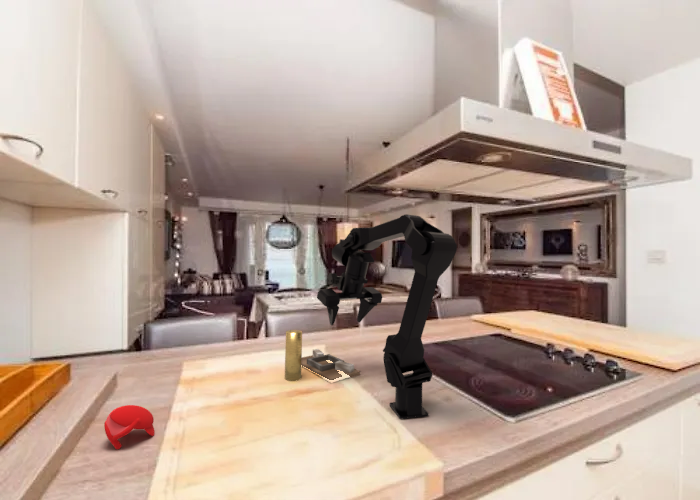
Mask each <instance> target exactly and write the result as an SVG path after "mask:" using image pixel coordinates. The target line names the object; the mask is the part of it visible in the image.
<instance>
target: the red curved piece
mask: <svg viewBox="0 0 700 500" xmlns="http://www.w3.org/2000/svg"><path fill="white" fill-rule="evenodd" d="M154 419H155V418H154V415H153V414H152V412H150V410H148V409H147V408H145V407H143V406H141V405H135V404H129V405H128V404H127V405H122V406H119V407H116V408H114V409H113V410H111V411H110V413H109V414H108V415H107V417H106V420H105V421H104V432H105V435H106V438H107V439H108V441H109V442H110V444H111V445H112V446H113V447H114V448H115V450H120V449H121V447H122V445H123V444H121V442H120V441H119V439H121V438H124V437H125V436H126V435H128V434H130V433H131V432H132V431H133V430H144V431H145V432H146V433H147V434H148V435H149V436H151V437H153V436H155V431H156V430H155V427H154Z"/></svg>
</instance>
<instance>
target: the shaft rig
mask: <svg viewBox="0 0 700 500" xmlns="http://www.w3.org/2000/svg"><path fill="white" fill-rule="evenodd" d="M326 360H330V361H332V362H333V363H328V362H327V361H326ZM301 365H302V366H304V367H306V368H308V369H310V370H311V371H313V372H315V373H317V374H319V375H321V376H323V377H325V378H327V379H329V380H334V379H336V378H339V377H342V375H341V374H339V373H338V372H339V371H337V370H340V371H343V372H344V373H345V374H347V375H349V376H350V377H351V378H354V377H357V376H360V375H361V371H360V370H358V369H355V364H354V363H350V362H346V361H345V360H343V359H341V358H339V357H336V356H335V355H331V354H330V353H329V354H324V352H323V351H322V350H321V349H319V348H317V349H316V348H315V349H312V355H308V356H303V357H302V362H301Z"/></svg>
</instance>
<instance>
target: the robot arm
mask: <svg viewBox="0 0 700 500" xmlns="http://www.w3.org/2000/svg"><path fill="white" fill-rule="evenodd" d="M402 237H404V241H405V243H406V244H407V246H409V248H411V262H412V266H413V269H414V270H413V271H414V274H413V277H412V281H411V285H410V287H409V293H408V296H407V298H406V299H407V300H406V303H405V307H404V310H403V314H402V318H401V322H400V325H399V328H398V329H399V330H398V331H397V333H396V334H388V335H387V336H386V339H385V345H384V348H382V349H383V350H382V352H383V353H384V354H383V367H384V371H385V376H386V381H387V383H388V384H390V387H392V388H395V392H394V393H395V399H394V401H393V402H392V401H391V402H389V406H390V407H391V409H392V410H393V411H394V413H395V414H396V415H397V416H398V418H399V419H400V420H405V419H412V418H424V417H429V414H430V413H429V412H428V411H427V410H426V409H425V408H424V407H423V384H424V383H430V382H431V380H432V377H433V372H432V370H431V368H430V367H429V364H428V362H427V361H426V359H425V358H424V355H425V347H424V344H423V340H422V337H423V333H424V330H425V326H426V323H427V320H428V316H429V312H430V309H431V305H432V302H433V299H434V295H435V292H436V290H437V289H436V288H437V284H438V282H439V280H440V277H441V276H442V274H444V272H445V271H446V270H448V268H449V267H450V266H451V264H452V262H453V260H454V258H455V255H456V253H457V250H458V245H457V243H456V240H455V239H454V237H453V236H452V235H450V234H449V233H445V232H443V230H441V229H439V228H438V227H436V226H434V225H433V224H431V223H429V222H428V221H427V220H426V219H424V218H423V217H422V216H419V215H417V214H416V215H415V214H403V215H401V216H400V217H397V218H394V219H391V220H389V221H386V222H383V223H379V224H377V225H375V226H371V227H370V226H369V227H353V228H352V229H351V230H350V231H349V234H347V236H346V237H345V239H341V238H340V239H339V242H338V243H337V244H335V245H334V247H333V248H332V250H331V257H332V258H333V259H334V260H335V261H336V262H338V263H339V264H341V265H342V266H344V267H346V269H345V272H342V273H341V275H338V274H337V273H336V272H330V273H328V275H327V284H328V285H332V287H333V288H335V287H337V290H338V291H341V292H336V291H335V290H333V288H320V289H319V290H318V291H317V294H316V299H317V300H319V302H320V303H321V304H322V305H323V306H324V307H326V309H327V314H328V320H329V324H330V326H333V325H334V324H335V322H336V319H337V315H338V312H339V309H340V307H339V305H340V303H341V301H343V300H346V301H347V300H359V308H358V313H357V316H356V317H357V319H356V321H357V322H358V323H361V322H362V321H363V320H364V318H365V317H366V316H367V315H368V314H369V313H370V312H371V310H373V309H374V308H375V307H377V306H378V304H381V303H382V300H383V295H382V292H380V291H379V290H378V289H376V288H374V286H369V287H368V286H367V287H365V284H368V281H369V280H368V278H366V275H367V273H368V268H369V263H373V264H374V262H375V260H374V257H373V256H372V254H371V252H366V251H374V250H375V249H378V248H379V247H380V246H381V245H382V243H385V242H389V241H391V240H395V239H399V238H402ZM363 251H365V252H363ZM409 372H410V373H409ZM411 372H412V373H411Z"/></svg>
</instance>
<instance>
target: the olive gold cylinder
mask: <svg viewBox="0 0 700 500" xmlns="http://www.w3.org/2000/svg"><path fill="white" fill-rule="evenodd" d="M284 346H285V350H284V352H285V353H284V354H285V356H284V380H285V381H288V382H297V381H300V380H301V379H302V367H301V362H302V353H303V330H299V329H290V330H289V329H288V330H286V331H285V345H284ZM300 378H301V379H300ZM299 379H300V380H299ZM296 380H297V381H296Z"/></svg>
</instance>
